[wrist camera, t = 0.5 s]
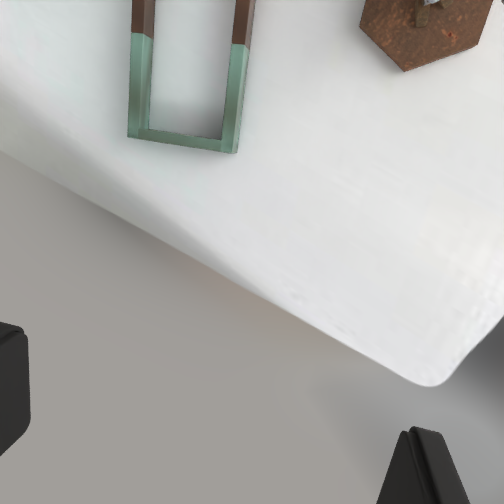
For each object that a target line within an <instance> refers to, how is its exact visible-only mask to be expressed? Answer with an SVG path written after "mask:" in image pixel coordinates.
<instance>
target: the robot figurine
mask: <svg viewBox="0 0 504 504" xmlns="http://www.w3.org/2000/svg"><path fill="white" fill-rule="evenodd" d="M492 2H493V0H366V2H365V6H364V10H363V14H362V18H361V22H360V26H359V27H360V28H361V29H362V30H363V31H364V32H365V33H366V34H367V35H368V36H369V37H370V38H371V39H372V40H373V41H374V42H375V43H376V44H377V45H378V46H379V47H380V48H381V49H382V50H383V51H384V52H385V53H386V54H387V55H388V56H389V57H390V58H391V59H392V60H393V61H394V62H395V63H396V64H397V65H398V66H399V67H400V68H401V69H402V70H403V71H404V72H406V71H409V70H411V69H414V68H417V67H420V66H422V65H425V64H428V63H431V62H434V61H436V60H439V59H442V58H445V57H448V56H450V55H453V54H456V53H459V52H461V51H464V50H467V49H470V48H473V47H474V46H476V45H477V44H478V42H479V39H480V36H481V33H482V31H483V28H484V25H485V22H486V19H487V16H488V14H489V11H490V8H491V5H492ZM502 3H503V4H504V0H502Z"/></svg>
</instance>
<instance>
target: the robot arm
mask: <svg viewBox="0 0 504 504" xmlns="http://www.w3.org/2000/svg"><path fill="white" fill-rule="evenodd" d="M30 416H31V415H30V386H29V357H28V338H27V336H26V335H25V334H24V331H23V329H22V328H21V327H19V326H15V325H11V324H7V323H3V322H0V456H1V455H2V454H3V453H4V452H5V451H6V450H7V449H8V448H9V447H10V446H11V445H12V444H13V443H15V442H16V440H18V439H19V438H20V437H21V436H22V435H23V433H25V431H26V430H27V428H28V426H29V423H30V418H31V417H30ZM376 504H470V502H469V500H468V497H467V495H466V492H465V490H464V487H463V485H462V482H461V480H460V478H459V475H458V473H457V470H456V468H455V465H454V463H453V460H452V458H451V455H450V453H449V450H448V448H447V445H446V443H445V440H444V438H443V436H442V435H441V434H440V433H439V432H435V431H431V430H427V429H423V428H419V427H415V426H413V427H411V428H410V430H409V432H407V431H402V432H401V433H400V436H399V439H398V442H397V444H396V447H395V450H394V453H393V456H392V459H391V462H390V465H389V468H388V471H387V474H386V477H385V480H384V483H383V486H382V489H381V492H380V495H379V497H378V500H377V503H376Z"/></svg>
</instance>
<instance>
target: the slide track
mask: <svg viewBox="0 0 504 504" xmlns="http://www.w3.org/2000/svg"><path fill="white" fill-rule="evenodd" d="M255 1H256V0H236V7H235V16H234V25H233V35H232V45H231V54H230V63H229V72H228V81H227V90H226V99H225V108H224V118H223V127H222V136H221V140H218V139H211V138H205V137H198V136H191V135H184V134H178V133H171V132H164V131H158V130H151V129H148V125H149V106H150V87H151V68H152V49H153V33H154V14H155V0H132V23H131V32H132V33H131V54H130V81H129V108H128V134H127V137H128V138H134V139H141V140H147V141H154V142H160V143H167V144H174V145H180V146H187V147H193V148H200V149H206V150H213V151H219V152H226V153H237V147H238V139H239V131H240V123H241V114H242V106H243V98H244V90H245V82H246V74H247V65H248V57H249V49H250V41H251V33H252V25H253V17H254V9H255Z"/></svg>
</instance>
